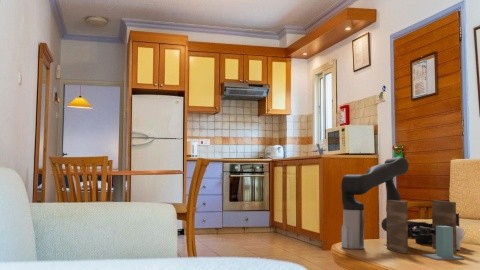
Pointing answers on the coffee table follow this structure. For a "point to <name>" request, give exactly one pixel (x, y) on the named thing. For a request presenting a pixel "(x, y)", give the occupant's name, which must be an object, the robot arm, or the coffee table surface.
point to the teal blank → (444, 241)
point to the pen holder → (424, 238)
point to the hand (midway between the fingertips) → (429, 233)
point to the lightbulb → (459, 236)
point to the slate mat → (434, 256)
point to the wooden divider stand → (399, 223)
